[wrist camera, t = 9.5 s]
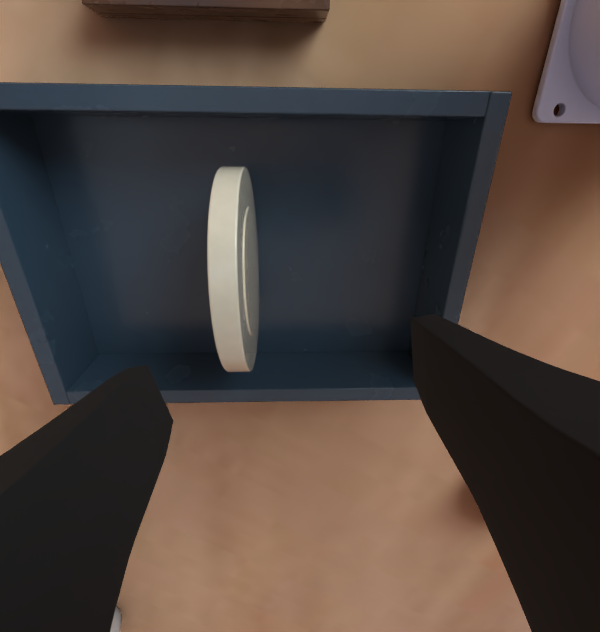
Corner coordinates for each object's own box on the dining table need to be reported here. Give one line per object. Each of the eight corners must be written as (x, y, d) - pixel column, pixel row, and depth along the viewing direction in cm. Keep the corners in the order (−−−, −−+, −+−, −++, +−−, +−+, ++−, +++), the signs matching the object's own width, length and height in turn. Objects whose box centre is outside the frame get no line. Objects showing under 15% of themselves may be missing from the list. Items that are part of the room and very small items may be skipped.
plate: (255, 167, 17) (231, 163, 9) (262, 324, 20) (247, 415, 12) (234, 167, 17) (192, 163, 9) (244, 324, 20) (218, 416, 12)
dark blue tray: (462, 101, 16) (513, 90, 12) (415, 356, 22) (440, 399, 19) (15, 94, 15) (-70, 80, 12) (93, 359, 21) (53, 405, 18)
